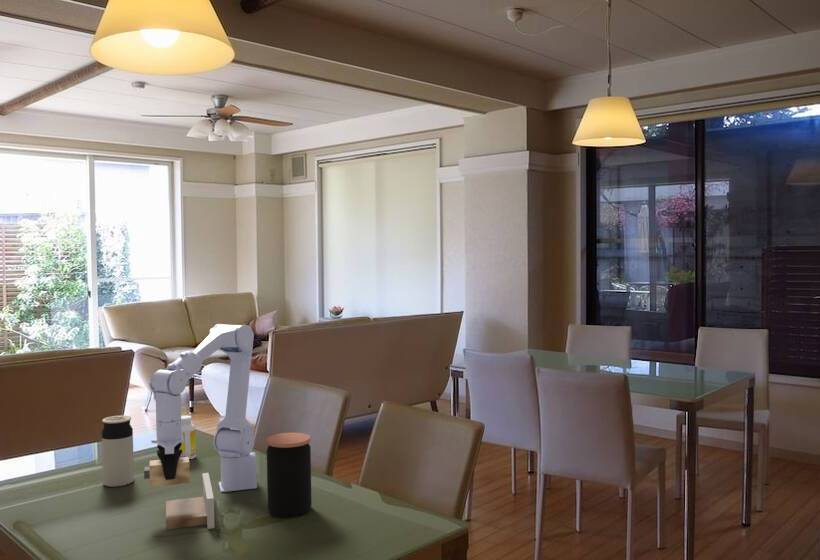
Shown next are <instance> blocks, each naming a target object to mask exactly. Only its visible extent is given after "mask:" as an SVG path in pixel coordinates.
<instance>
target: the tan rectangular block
mask: <svg viewBox="0 0 820 560" xmlns="http://www.w3.org/2000/svg"><path fill="white" fill-rule="evenodd" d="M143 468H144V470H143V476H144V480H149V488H152V487H162V486H169V485H182V484H190V483H191V475H190V474H191V472H190V471H191V470H190V460H189V457H183V458H179V460H178V464H177V470H176V476H175V479H171V480H166V479H165V476H164V472H163V467H162V463H161V461H160V459H154V460H153V459H152V460H149V466H144V467H143Z"/></svg>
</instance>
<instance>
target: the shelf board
mask: <svg viewBox="0 0 820 560" xmlns="http://www.w3.org/2000/svg"><path fill="white" fill-rule="evenodd" d="M209 473H210V472H203V473H201V475H202V476H201V477H202V497H204V502H205V508H206V514H207V524H206V526H207V530H210V529H211V530H212V529H215V498H214V492H213V488H212V483H211V479H210V474H209Z"/></svg>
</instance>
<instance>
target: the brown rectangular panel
mask: <svg viewBox="0 0 820 560" xmlns="http://www.w3.org/2000/svg"><path fill="white" fill-rule="evenodd" d="M203 525H204V526H206V525H207V514H206V508H205V502H204V497H203V496H196V497H188V498H181V499H180V498H179V499H172V500H171V499H170V500H166V501H165V527H166V528H165V530H166V531H167V530H173V529H182V528H189V527H197V526H203Z"/></svg>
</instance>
